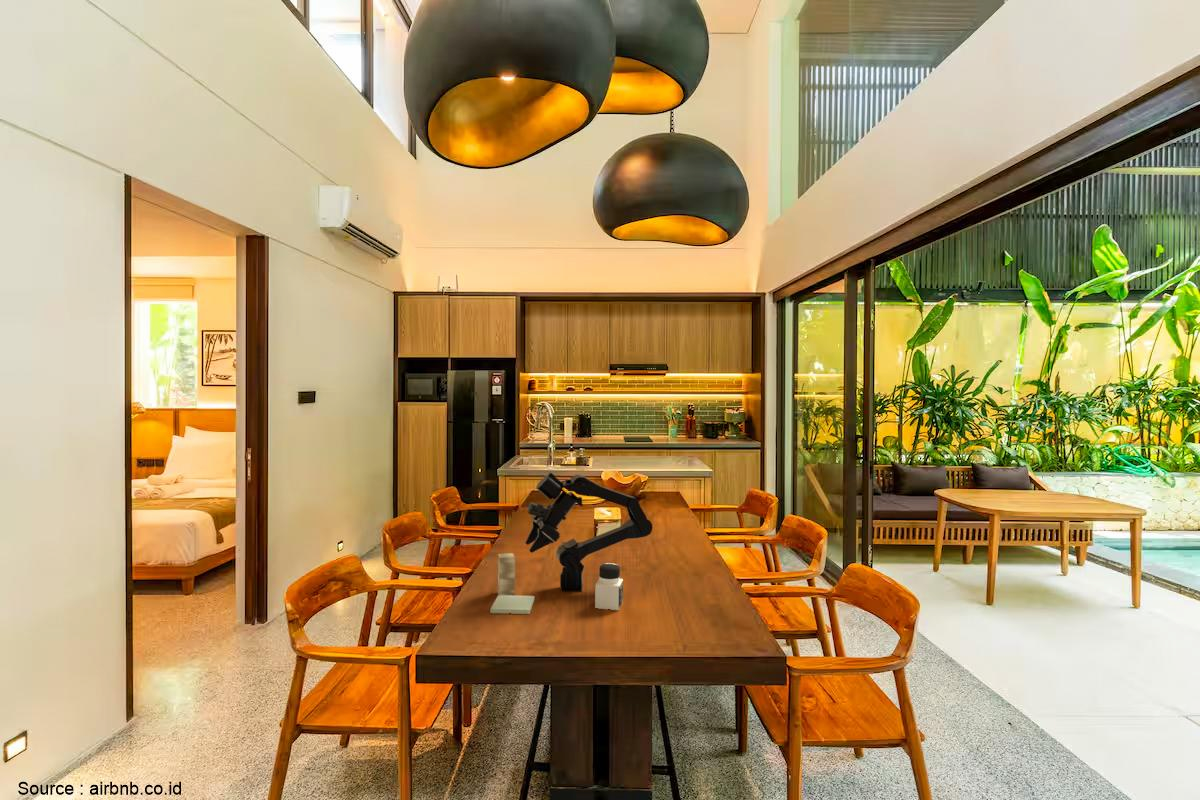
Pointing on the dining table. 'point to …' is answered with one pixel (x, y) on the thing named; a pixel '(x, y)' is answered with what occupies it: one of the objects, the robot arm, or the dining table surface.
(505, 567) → the birch block
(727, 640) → the dining table surface
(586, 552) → the robot arm
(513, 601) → the board
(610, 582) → the medicine bottle
